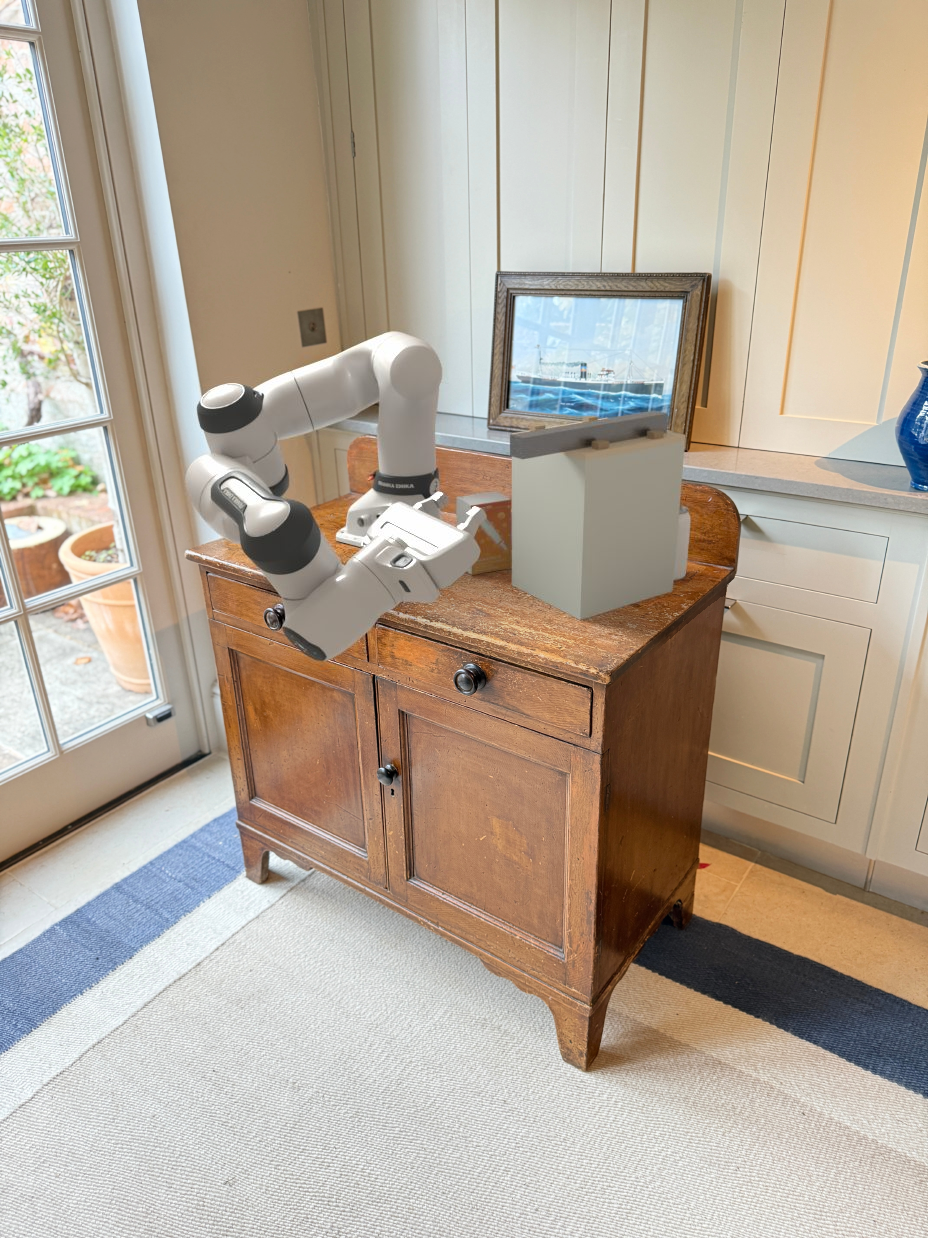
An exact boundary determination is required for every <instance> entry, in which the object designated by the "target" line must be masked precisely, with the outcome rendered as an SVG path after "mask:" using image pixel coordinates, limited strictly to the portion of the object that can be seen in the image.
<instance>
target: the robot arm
mask: <svg viewBox="0 0 928 1238" xmlns="http://www.w3.org/2000/svg"><path fill="white" fill-rule="evenodd" d="M442 379H443V366H442V363H441V360H440V358H439V356H438V354H437V353H436V350H435V349H434V348H433V347H432V346H431V345H430V343H428V341H424V340H423V339H421V338H418V337H416V336H413V335H411V334H407V333H404V332H402V331H388V332H385V333H383V334H380V335H377V336H375V337H372V338H370V339H367V340H365V341H362V342H361V343H358V344H356V345H354V346H352V347H349V348H347V349H345V350H344V351H341V352H339V353H337V354H335V355H332V356H330V357H327V358H324V359H321V360H319V361H316V362H312V363H310V364H308V365H305V366H301V367H298V368H296V369H294V370H291V371H287V372H285V373H282V374H280V375H278V376H275V377H273V378H271V379H269V380H267V381H264V382H262V383H261V384H258V385H257V386H256V387H254V388H252V387H251V386H249V385H245V384H242V383H233V382H231V383H225V384H220V385H218V386H215V387H213V388H211V389H209V390H207V391H206V393H204V394H203V395H202V396H201V398H200V400H199V401H198V403H197V405H196V415H197V419H198V423H199V427H200V429H201V430H202V431H203V433H204V436H205V439H206V442H207V446H208V448H209V451H210V453H205V454H203V455H199V457H197V458H196V459H195V460H193V461H192V462H191V464H190V465H189V467H188V469H187V470H186V473H185V477H184V480H185V481H184V483H185V489H186V492H187V494H188V497H189V499H190V501H191V503H192V505H193V506H194V508H195V509H196V511H197V513H198V514H199V516H200V517H201V518H202V519H203V520H204V522H205V523H206V524H207V525H208V526H209V528H211V529H212V530H213V531H214V532H215V533H216V534H218V535H219V536H221V538H224V539H225V540H227V541H229V542H231V543H233V544H235V545H240V547H241V550H242V551H243V553H244V554H245V556H246V557H247V558H249V561H251V562H252V563H253V564H254V565H255V566H256V567H257V568H258V569H259V570H260V573H262V574H263V576H264V577H265V579H266V580H267V581H268V582H269V583H270V584H271V586H272V587H273V588H274V589H275V591H276V592H277V593H278V595H279V596H280V599H281V603H282V606H283V608H284V609H283V610H284V618H285V619H284V622H283V624H282V625H281V627H282V628H281V629H282V631H283V634H284V635H285V637H286V638H287V640H288V641H289V642H290V643H291V644H292V645H293V646H294V647H295V648H297V649H298V650H299V651H300V652H302V653H303V655H305V656H306V657H308V658H310V659H311V660H314V661H318V662H326V661H330V660H331V659H333V658H335V657H338V656H339V655H340V654H342V653H344V652H345V651H346V650H348V649H349V648H351V646H353V645H354V644H355V643H357V642H358V641H359V640H360V639H362V638H363V637H364V635H366V634H367V633H368V632H369V631H371V629H372V628H373V627H374V625H375V624H376V623H377V621H378V619H380V617H381V616H382V615H384V614H385V613H387V612H389V611H392V610H393V609H394V608H396V607H397V606H398V605H399V604H400V603H402V602H403V603H422V604H432V603H434V602H435V601H436V600H438V598H439V597H440V596H441V593H440V591H439V589H440V590H441V589H445V588H447V587H449V586H451V585H453V583H455V582H456V581H457V580H459V578H461V577H462V576H463V575H464V574H465V573H466V572H467V570H468V569H469V568H470V567H471V566H472V565H473V564H474V563H475V562H476V561H477V560H478V558H479V555H480V552H481V550H480V548H479V546H478V544H477V542H476V541H475V539H474V536H475V534H476V532H477V529H478V527H479V525H480V524H481V523H482V522H483V521H484V520H485V519H486V518H487V515H486V513H485V511H484V510H483V509H482V508H479V507H477V506H475V507H473V509H472V510H470V511H469V512H468V513H467V514H468V516H469V517H468V519H467V520H466V522H465V524H463V523H461V524H460V525H459V526H457V525H456V526H455V525H453V524H452V523H451V524H450V523H448V522H446V521H444V520H443V516H442V511H441V510H443V509H444V508H445V506H447V505H448V504H449V503H450V498H449V497H448V496H447V494H446V493H445V492H443V491H440V490H441V487H440V486H441V485H440V470H439V468H438V467H437V452H436V451H437V448H436V446H437V445H436V422H437V421H436V419H437V412H438V405H439V404H438V403H439V395H440V393H439V392H440V385H441V382H442ZM376 403H379V404H378V417H377V418H378V420H377V427H376V442H377V457H378V459H377V460H378V469H377V470H375V471H373V472H372V473H370V474H368V475H367V477H369V478H368V479H367V481H368V482H370V481H373V483H372V486H371V487H372V488H370V490H368V491H367V492H365V493H364V495H362V496H361V497H360V498H358V499H357V500H356V501H355V502H353V504H352V505H351V506H350V507H349V508H348V511H347V516H346V522H345V523H346V524H345V526H343V527H342V528H340V529H339V530H338V531H337V532H336V535H335V541H336V542H340V543H345V544H347V545H352V546H356V547H359V550H358V551H357V552H356V553H355V554H354V555H353V556H351V557H350V558H349V559H348V561H347V562H346V564H343V563H342V561H341V560H340V558H339V556H338V555H337V553H336V551H335V550H334V548H333V547H332V546H331V544H330V542H329V541H328V539H327V538H326V536H325V535H324V533H323V532H322V530H321V529H320V527H319V524H318V523H317V521H316V518H315V517H314V515H313V513H312V511H311V510H310V509H309V507H308V506H307V505H305V504H304V503H302V501H301V502H300V501H298V500H295V499H291V498H286V497H283V496H284V495H285V493H286V492H287V491H288V489H289V488H290V474H289V468H288V465H287V464H286V463H285V461H284V456H283V451H282V450H281V445H280V443H279V441H281V440H287V439H290V438H292V439H293V438H294V437H298V436H303V435H306V434H308V433H313V432H314V431H317V430H320V429H323V428H326V427H329V426H331V425H334V424H337V423H339V422H343V421H344V420H349V419H350V418H353V417H355V416H357V415H358V414H360V413H361V412H362V411H364V410H366V409H368V408H369V407H371V406H373V405H375V404H376ZM367 477H366V478H367Z"/></svg>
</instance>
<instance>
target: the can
mask: <svg viewBox="0 0 928 1238" xmlns="http://www.w3.org/2000/svg"><path fill="white" fill-rule="evenodd" d="M689 511H690V509H689V507H687V506H685V505H683V504H682V505H681V504H680V508H679V520H678V532H677V544H676V556H675V568H674V580H673V582H676V581H680V580H682V579H683V578H684V577H685V576H687V575H686V574H687V565H688V556H689V554H688V553H689V543H690V532H691V522H692V521H691V515H690V513H689Z"/></svg>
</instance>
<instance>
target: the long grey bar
mask: <svg viewBox="0 0 928 1238" xmlns="http://www.w3.org/2000/svg"><path fill="white" fill-rule="evenodd" d="M606 418H607V419H602V418H600V419H601V420H595V421H588V422H583V421H581V422H582V423H578V422H575V423H576V424H572V423H569V424H570V425H566V424H563V425H564V426H560V425H557V426H558V427H554V426H551V427H552V428H548V427H545V428H546V429H540V430H534V431H530V430H527V431H528V432H524V431H521V432H522V433H518V432H515V433H516V434H512V433H511V434H509V456H510V457H512V456H513V457H516V458H519V459H528V458H533V457H539V456H544V455H549V454H555V453H560V452H566V451H571V450H576V449H582V448H587V447H592V441H597V440H606V441H609V443H614V442H619V441H625V440H630V439H636V438H641V437H646V436H647V431H652V430H661V431H664V433H667V431H668V423H669V421H668V419H669V413H668V412H664V411H663V412H662V411H658V410H650V411H643V412H637V413H632V414H626V415H620V416H614V417H606Z"/></svg>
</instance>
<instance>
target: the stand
mask: <svg viewBox="0 0 928 1238" xmlns="http://www.w3.org/2000/svg"><path fill="white" fill-rule="evenodd" d="M607 418H608V417H604V418H599V416H597V415H592V414H591V415H586V416H582V421H579V422H573V423H567V424H562V425H560V424H559V425H555V426H547V427H546V424H541V423H536V424H531V425H529V430H525V431H518V432H513V433H511V434H516V433H522V432H528V431H534V430H540V429H546V428H552V427H558V426H564V425H570V424H576V423H582V422H588V421H595V420H601V419H607ZM685 446H686V434H682V433H679V432H675V431H670V430H667V433H664V431H661V430H652V431H647V436H646V437H641V438H636V439H630V440H625V441H619V442H614V443H609V441H606V440H597V441H592V447H587V448H582V449H576V450H571V451H566V452H560V453H555V454H549V455H544V456H539V457H533V458H528V459H519V458H516V457H513V456H511V512H512V550H511V586H513V587H515V588H516V589H518V590H520V591H522V592H524V593H526V594H528V595H530V596H532V597H534V598H536V599H538V600H540V601H542V602H544V603H546V604H548V605H550V606H552V607H554V608H556V609H557V610H558V611H559V610H560V612H561V611H562V612H563V613H564V614H568V615H569V616H571V617H573V618H575V619H576V620H579V621H583V620H586V619H588V618H592V617H594V616H597V615H600V614H604V613H608V612H610V611H611V612H612V611H613V610H617V609H620V608H624V607H627V606H630V605H633V604H637V603H639V602H642V601H643V602H644V601H646V600H648V599H652V598H655V597H658V596H661V595H665V594H668V593H671V592H673V591H674V589H673V588H674V581H673V580H674V568H675V556H676V544H677V532H678V520H679V508H680V505H681V494H682V483H683V482H682V481H683V471H684V460H685V459H684V457H685V449H686V448H685Z"/></svg>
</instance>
